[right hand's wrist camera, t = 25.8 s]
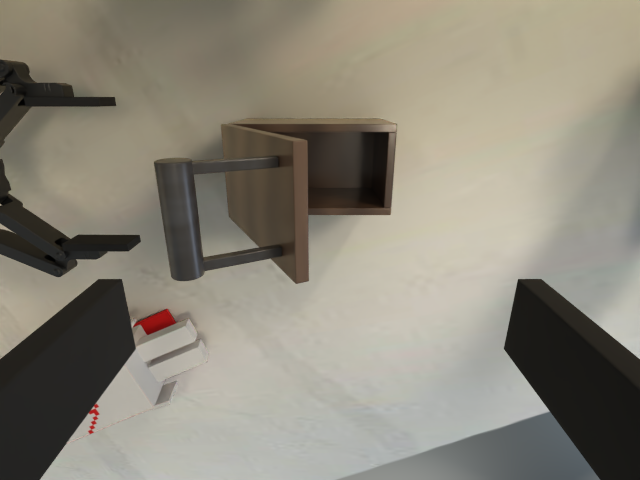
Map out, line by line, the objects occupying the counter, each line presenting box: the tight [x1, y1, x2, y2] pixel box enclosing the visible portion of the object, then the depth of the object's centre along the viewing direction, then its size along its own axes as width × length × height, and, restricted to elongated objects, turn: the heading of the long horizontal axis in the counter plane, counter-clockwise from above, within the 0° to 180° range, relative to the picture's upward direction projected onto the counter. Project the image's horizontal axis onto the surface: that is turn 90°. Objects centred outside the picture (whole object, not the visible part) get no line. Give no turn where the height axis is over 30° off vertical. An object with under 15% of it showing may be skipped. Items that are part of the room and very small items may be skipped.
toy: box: [66, 309, 209, 444], centre depth 54 cm, size 12×13×30 cm
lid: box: [154, 124, 309, 284], centre depth 29 cm, size 17×9×8 cm
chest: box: [229, 119, 397, 215], centre depth 43 cm, size 17×9×10 cm, turn 90°
